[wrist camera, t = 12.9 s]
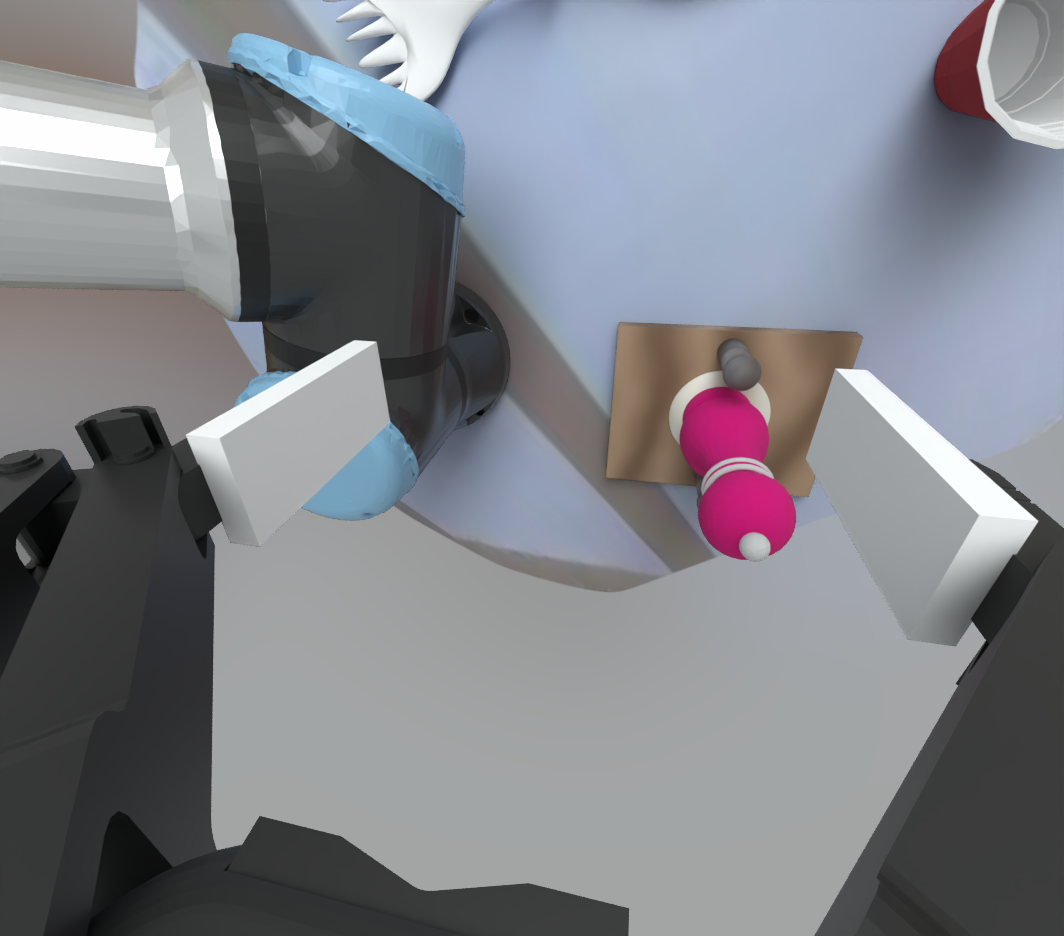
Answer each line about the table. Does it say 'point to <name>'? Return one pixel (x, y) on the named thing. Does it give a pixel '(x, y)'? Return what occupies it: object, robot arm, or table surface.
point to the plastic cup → (1008, 68)
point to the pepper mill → (735, 476)
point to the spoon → (414, 38)
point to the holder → (719, 361)
